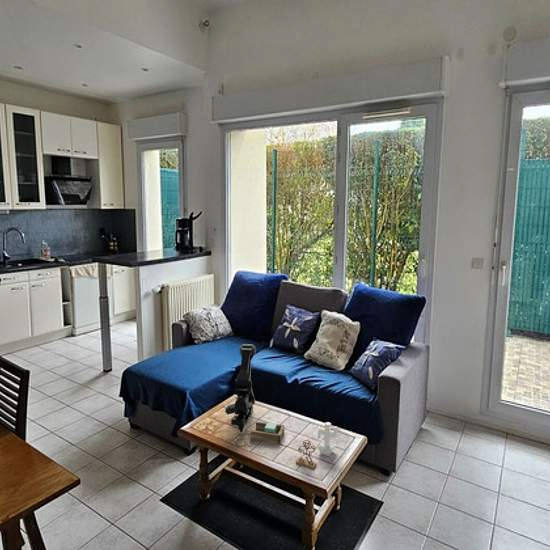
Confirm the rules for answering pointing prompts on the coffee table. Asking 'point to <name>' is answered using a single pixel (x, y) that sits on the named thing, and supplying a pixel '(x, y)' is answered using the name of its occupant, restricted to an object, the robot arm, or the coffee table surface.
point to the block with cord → (268, 428)
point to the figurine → (327, 439)
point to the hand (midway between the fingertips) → (242, 429)
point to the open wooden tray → (266, 436)
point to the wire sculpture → (306, 462)
